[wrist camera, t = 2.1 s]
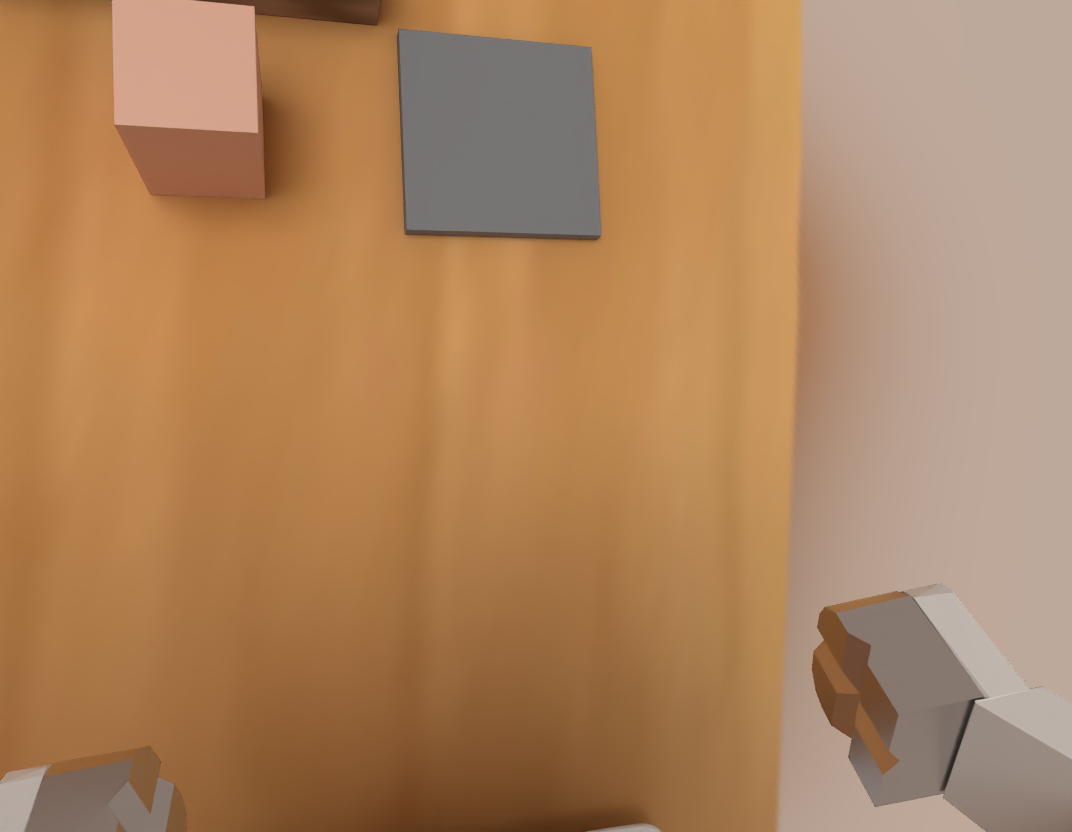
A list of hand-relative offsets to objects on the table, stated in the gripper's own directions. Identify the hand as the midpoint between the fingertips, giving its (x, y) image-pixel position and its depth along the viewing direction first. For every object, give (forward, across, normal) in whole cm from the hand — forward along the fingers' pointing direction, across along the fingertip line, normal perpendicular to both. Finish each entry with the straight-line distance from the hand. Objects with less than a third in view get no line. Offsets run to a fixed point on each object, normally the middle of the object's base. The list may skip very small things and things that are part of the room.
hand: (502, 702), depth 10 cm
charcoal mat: (+37, -4, +5) cm, 37 cm away
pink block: (+35, +9, +2) cm, 37 cm away
